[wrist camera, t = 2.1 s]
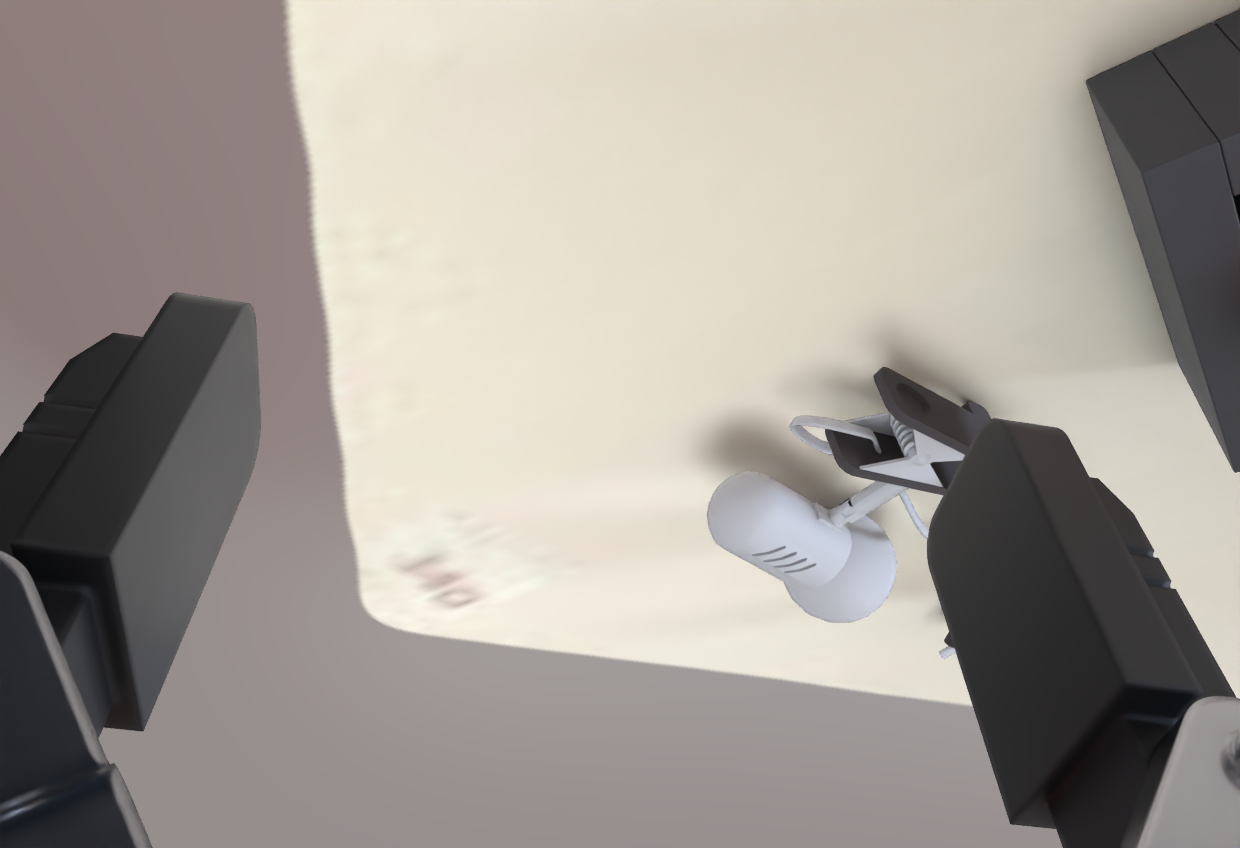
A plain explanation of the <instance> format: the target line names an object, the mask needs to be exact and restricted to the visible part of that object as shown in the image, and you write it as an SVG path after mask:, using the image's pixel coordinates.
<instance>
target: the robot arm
mask: <svg viewBox="0 0 1240 848" xmlns="http://www.w3.org/2000/svg"><path fill="white" fill-rule="evenodd" d="M258 370H259V369H258V349H257V329H256V317H255V312H254V309H253V307H252V305H251V304H249V303H242V302H236V301H228V300H222V299H215V298H209V297H203V296H196V295H190V294H183V293H173V294H172V295H171V296H170V297H169V298H168V300H167V301H166V302H165V304H164V305H163V307H162V308H161V310H160V311H159V313H158V315H157V316H156V318H155V319H154V321H153V322H152V324H151V326H150V327H149V328H148V330H147V331H146V333H145V335H144V336H143V337H139V336H132V335H125V334H118V333H112V334H111V335H109V336H107V337H106V338H104V339H102V340H101V341H99V342H98V343H96V344H94V345H93V346H91V347H90V348H88V349H86V350H85V351H83V352H82V353H80V354H78V355H77V356H75V357H74V358H72V359H70V360H69V362H68V363H67V364H66V366H65V367H64V369H63V370H62V371H61V373H60V374H59V375H58V377H57V378H56V380H55V381H54V382H53V384H52V385H51V387H50V388H49V389H48V391H47V392H46V394H45V395H44V396H45V398H44V402H39V403H38V405H37V406H36V407H35V409H34V410H33V411H32V413H31V414H30V416H29V417H28V418H27V420H26V421H25V423H24V424H23V425H24V427H23V431H22V432H17V434H16V435H15V436H14V438H13V439H12V441H11V442H10V443H9V445H8V446H7V447H6V449H5V450H4V452H3V453H2V454H1V456H0V848H152V845H151V842H150V840H149V838H148V835H147V833H146V831H145V828H144V826H143V823H142V821H141V818H140V816H139V814H138V811H137V809H136V807H135V804H134V802H133V799H132V797H131V795H130V792H129V790H128V788H127V786H126V784H125V782H124V779H123V777H122V775H121V773H120V772H119V770H118V768H117V766H116V765H115V764H111V765H110V764H109V762H108V760H107V758H106V756H105V753H104V751H103V749H102V746H101V744H100V742H99V739H98V738H99V736H100V734H101V732H102V729H103V727H106V728H115V729H126V730H135V731H144V729H145V726H146V724H147V721H148V719H149V717H150V714H151V712H152V709H153V707H154V705H155V703H156V700H157V698H158V695H159V693H160V691H161V688H162V685H163V684H164V681H165V679H166V676H167V674H168V672H169V669H170V667H171V665H172V662H173V660H174V657H175V655H176V653H177V650H178V647H179V645H180V643H181V641H182V638H183V636H184V634H185V631H186V629H187V627H188V624H189V622H190V619H191V617H192V614H193V612H194V610H195V608H196V605H197V602H198V600H199V598H200V596H201V593H202V591H203V588H204V586H205V584H206V581H207V579H208V576H209V574H210V572H211V570H212V567H213V565H214V562H215V560H216V557H217V555H218V553H219V551H220V548H221V545H222V543H223V541H224V539H225V536H226V534H227V532H228V529H229V527H230V524H231V522H232V520H233V517H234V515H235V513H236V510H237V508H238V505H239V503H240V501H241V498H242V496H243V494H244V491H245V489H246V486H247V484H248V482H249V479H250V477H251V474H252V471H253V468H254V465H255V461H256V456H257V452H258V446H259V439H260V429H261V411H260V391H259V390H260V389H259V371H258ZM1153 552H1154V549H1153V548H1152V546H1151V544H1150V542H1149V540H1148V539H1147V537H1146V535H1145V533H1144V531H1143V530H1142V528H1141V526H1140V524H1139V523H1138V521H1137V519H1136V517H1135V515H1134V514H1133V513H1132V512H1131V511H1130V510H1129V509H1128V508H1127V507H1126V506H1125V505H1124V504H1123V503H1122V502H1121V501H1120V500H1119V499H1118V498H1117V497H1116V496H1115V495H1114V494H1113V493H1112V492H1111V491H1110V490H1109V489H1108V488H1107V487H1106V486H1105V485H1104V484H1103V483H1102V482H1101V481H1100V480H1099V479H1098V478H1091V477H1089V475H1088V474H1087V472H1086V470H1085V468H1084V466H1083V464H1082V462H1081V460H1080V459H1079V457H1078V455H1077V453H1076V451H1075V449H1074V447H1073V445H1072V444H1071V442H1070V440H1069V438H1068V436H1067V435H1066V433H1065V432H1063V431H1062V430H1061V429H1059V428H1055V427H1049V426H1042V425H1036V424H1029V423H1022V422H1016V421H1009V420H1003V419H996V418H994V419H990V420H988V421H986V422H985V423H984V424H983V425H982V426H981V428H980V429H979V430H978V432H977V434H976V435H975V437H974V439H973V441H972V443H971V445H970V447H969V449H968V451H967V452H966V454H965V456H964V458H963V460H962V462H961V464H960V466H959V468H958V469H957V471H956V473H955V475H954V477H953V479H952V481H951V483H950V485H949V486H948V488H947V490H946V492H945V494H944V496H943V498H942V500H941V501H940V503H939V505H938V507H937V509H936V511H935V513H934V515H933V518H932V521H931V524H930V528H929V533H928V540H927V558H928V565H929V569H930V572H931V575H932V579H933V582H934V585H935V588H936V591H937V594H938V597H939V601H940V604H941V607H942V610H943V613H944V616H945V620H946V623H947V626H948V629H949V632H950V635H951V638H952V642H953V645H954V648H955V651H956V654H957V657H958V660H959V664H960V667H961V670H962V673H963V676H964V679H965V683H966V686H967V689H968V692H969V695H970V698H971V701H972V705H973V708H974V711H975V714H976V717H977V720H978V723H979V726H980V730H981V733H982V736H983V739H984V742H985V745H986V748H987V752H988V755H989V758H990V761H991V764H992V768H993V771H994V774H995V777H996V780H997V783H998V786H999V790H1000V793H1001V796H1002V799H1003V802H1004V805H1005V809H1006V812H1007V815H1008V818H1009V821H1010V824H1013V825H1023V826H1033V827H1042V828H1052V829H1057V832H1058V835H1059V838H1060V841H1061V843H1062V846H1063V848H1240V699H1239V698H1236V696H1235V694H1234V692H1233V691H1232V689H1231V687H1230V685H1229V683H1228V682H1227V680H1226V678H1225V676H1224V674H1223V673H1222V671H1221V669H1220V667H1219V666H1218V664H1217V662H1216V660H1215V658H1214V657H1213V655H1212V653H1211V651H1210V649H1209V648H1208V646H1207V644H1206V642H1205V641H1204V639H1203V637H1202V635H1201V633H1200V632H1199V630H1198V628H1197V626H1196V624H1195V623H1194V621H1193V619H1192V617H1191V615H1190V614H1189V612H1188V610H1187V608H1186V607H1185V605H1184V603H1183V601H1182V599H1181V598H1180V596H1179V594H1178V592H1177V590H1176V589H1171V588H1170V583H1171V580H1170V578H1169V576H1168V574H1167V573H1166V571H1165V569H1164V567H1163V565H1162V564H1161V562H1160V560H1159V558H1154V557H1153Z"/></svg>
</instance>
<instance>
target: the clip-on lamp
mask: <svg viewBox="0 0 1240 848" xmlns="http://www.w3.org/2000/svg"><path fill="white" fill-rule="evenodd" d="M874 381H875V383H876V386H877V388H878V390H879V392H880V395H881V397H882V399H883V401H884V404H885V406H886V408H887V409H888V411H889V412H887V413H882V414H877V415H872V416H866V417H861V418H856V419H851V420H846V421H841V420H835V419H830V418H825V417H818V416H808V415H804V416H798V417H795V418H794V419H793V421H792V422H791V424H790V426H789V427H790V429H791V431H792V432H793V433H794V434H795V435H796V436H797V437H799V438H800V439H801V440H802V441H804V442H805V443H807V444H808V445H809V446H811V447H813V448H815V449H817V450H818V451H820V452H823V453H826V454H829V455H833V456H834V458H835V460H836V462H837V464H838V465H839V467H840V468H841V469H843V470H844V471H845V472H846V473H848V474H850V475H852V476H856V477H861V478H865V479H870V480H875V481H876V482H874V483H873V484H871V485H870V486H868V487H866V488H865V489H863V490H862V491H860V492H858V493H857V494H855V495H854V496H852V497H851V498H849V499H847V500H846V501H844V502H843V503H841V504H840V505H838V506H837V507H835V508H833V509H826V508H824V507H823V506H821V505H820V504H818V503H816V502H815V503H813V502H811V501H810V500H808V499H806V498H804V497H803V496H801V495H799V494H798V493H796V492H794V491H793V490H791V489H789V488H788V487H786V486H784V485H783V484H781V483H779V482H778V481H776V480H774V479H773V478H771V477H769V476H768V475H766V474H762V473H758V472H754V471H746V472H740V473H737V474H735V475H733V476H731V477H729V478H727V479H726V480H725V481H724V482H722V483H721V484H720V485H719V486H718V487H717V489H716V490H715V492H714V493H713V495H712V497H711V500H710V502H709V506H708V512H707V518H708V526H709V530H710V532H711V534H712V537H713V539H714V541H715V542H716V543H717V544H718V545H719V546H720V547H722V548H723V549H725V550H727V551H729V552H730V553H732V554H734V555H736V556H738V557H740V558H741V559H743V560H745V561H747V562H749V563H751V564H752V565H754V566H756V567H758V568H760V569H761V570H763V571H765V572H767V573H769V574H771V575H772V576H774V577H776V578H778V579H780V580H782V581H783V582H784V584H785V586H786V588H787V590H788V592H789V594H790V596H791V598H792V599H793V600H794V601H795V603H797V604H798V605H799V606H800V607H801V608H802V609H803V610H804V611H805V612H807V613H808V614H810V615H811V616H814V617H817V618H819V619H822V620H825V621H828V622H833V623H844V622H854V621H857V620H859V619H862V618H865V617H867V616H869V615H870V614H871V613H873V612H874V611H875V610H877V609H878V608H879V607H880V606H881V605H882V604H883V602H884V601H885V600H886V598H887V597H888V595H889V594H890V592H891V589H892V587H893V584H894V582H895V579H896V569H897V560H896V556H895V551H894V547H893V544H892V543H891V541H890V539H889V538H888V536H887V535H886V533H885V531H884V530H883V529H882V527H881V526H879V525H878V524H877V523H876V522H874V521H873V520H872V519H870V518H869V517H868V516H866V514H868V513H869V512H871V511H873V510H874V509H876V508H877V507H879V506H881V505H882V504H884V503H886V502H887V501H889V500H890V499H892V498H894V497H895V496H897V495H899V496H900V498H901V499H902V501H903V503H904V505H905V507H906V509H907V511H908V513H909V515H910V517H911V519H912V521H913V523H914V524H915V526H916V527H917V529H918V530H919V532H920V533H921V535H923V536H924V537H925V538H927V539H928V533H929V528H927V527H926V526H925V525H924V524H923V522H922V521H921V519H920V518H919V516H918V514H917V512H916V510H915V508H914V506H913V505H912V503H911V501H910V499H909V497H908V495H907V493H906V491H905V490H907V489H908V488H912V489H916V490H921V491H926V492H930V493H935V494H940V495H944V494H945V492H946V490H947V488H948V486H949V485H950V483H951V481H952V479H953V477H954V475H955V473H956V471H957V469H958V468H959V466H960V464H961V462H962V460H963V458H964V456H965V454H966V452H967V451H968V449H969V447H970V445H971V443H972V441H973V439H974V437H975V435H976V434H977V432H978V430H979V429H980V428H981V426H982V425H983V424H984V423H985V422H986V421H988V420H990V419H991V418H990V416H989V414H988V412H987V411H986V410H985V409H984V408H983V407H982V406H980V405H978V404H976V403H973V402H971V401H968V402H967V403H966V404H964V405H963V406H962V407H960V406H958V405H956V404H954V403H952V402H951V401H949V400H947V399H945V398H943V397H941V396H939V395H937V394H936V393H934V392H932V391H930V390H928V389H926V388H924V387H923V386H921V385H919V384H917V383H915V382H913V381H911V380H910V379H908V378H906V377H904V376H902V375H900V374H898V373H897V372H895V371H893V370H891V369H889V368H886V367H882V368H881V369H880V370H879V371H878V372H877V373H876V374H875V375H874ZM801 425H804V426H812V427H819V428H824V429H825V434H826V437H827V440H828V442H829V443H828V442H825V441H822V440H820V439H818V438H816V437H815V436H813V435H812V434H810V433H809V432H807V431H806V430H805V429H804V428H803V427H802V426H801ZM944 642H945V643H946V644H947V645H948V647H946V648H945V649H943V650H941V651H939V653H940V655H941V656H942V658H943V659H945V658H947V657H949V656H951V655H952V654H954V653H956V651H955V648H954V645H953V642H952V638H951V635H950V632H949V633H948V635H947V636H946V638H945V640H944Z"/></svg>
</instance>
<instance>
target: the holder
mask: <svg viewBox="0 0 1240 848" xmlns="http://www.w3.org/2000/svg"><path fill="white" fill-rule="evenodd" d="M1086 84H1087V87H1088V90H1089V93H1090V96H1091V99H1092V102H1093V105H1094V108H1095V111H1096V114H1097V118H1098V121H1099V124H1100V127H1101V130H1102V133H1103V136H1104V139H1105V142H1106V145H1107V148H1108V151H1109V154H1110V157H1111V160H1112V163H1113V166H1114V169H1115V172H1116V175H1117V178H1118V181H1119V184H1120V187H1121V190H1122V193H1123V196H1124V199H1125V202H1126V206H1127V209H1128V212H1129V215H1130V218H1131V221H1132V224H1133V227H1134V230H1135V233H1136V236H1137V239H1138V242H1139V245H1140V248H1141V251H1142V254H1143V257H1144V260H1145V263H1146V266H1147V269H1148V272H1149V275H1150V278H1151V281H1152V284H1153V287H1154V291H1155V294H1156V297H1157V300H1158V303H1159V306H1160V309H1161V312H1162V315H1163V318H1164V321H1165V324H1166V327H1167V330H1168V333H1169V336H1170V339H1171V342H1172V345H1173V348H1174V351H1175V354H1176V357H1177V360H1178V363H1179V366H1180V368H1181V370H1182V372H1183V374H1184V376H1185V377H1186V379H1187V381H1188V383H1189V385H1190V387H1191V389H1192V391H1193V393H1194V395H1195V397H1196V399H1197V401H1198V403H1199V405H1200V407H1201V409H1202V411H1203V413H1204V414H1205V416H1206V418H1207V420H1208V422H1209V424H1210V426H1211V428H1212V430H1213V432H1214V434H1215V436H1216V438H1217V440H1218V442H1219V444H1220V446H1221V448H1222V450H1223V451H1224V453H1225V455H1226V457H1227V459H1228V461H1229V463H1230V465H1231V467H1232V469H1233V471H1234V472H1235V473H1236V472H1240V10H1238V11H1236V12H1234V13H1232V14H1229V15H1227V16H1225V17H1223V18H1221V19H1219V20H1217V21H1216V22H1215V24H1214V23H1210V24H1208V25H1205V26H1203V27H1201V28H1199V29H1197V30H1195V31H1193V32H1190V33H1188V34H1186V35H1184V36H1182V37H1180V38H1177V39H1175V40H1173V41H1171V42H1169V43H1167V44H1165V45H1162V46H1160V47H1158V48H1156V49H1154V50H1153V53H1152V51H1149V52H1147V53H1145V54H1142V55H1140V56H1138V57H1136V58H1134V59H1132V60H1130V61H1127V62H1125V63H1123V64H1121V65H1119V66H1117V67H1114V68H1112V69H1110V70H1108V71H1106V72H1104V73H1102V74H1099V75H1097V76H1095V77H1093V78H1091V79H1089V80H1087V81H1086Z"/></svg>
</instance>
